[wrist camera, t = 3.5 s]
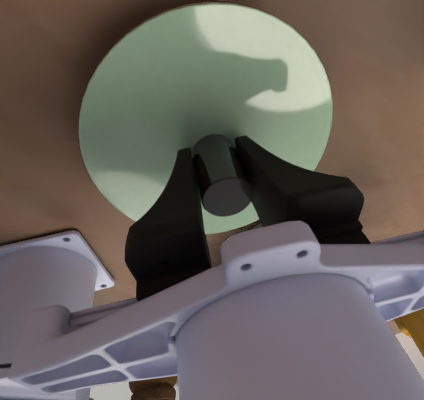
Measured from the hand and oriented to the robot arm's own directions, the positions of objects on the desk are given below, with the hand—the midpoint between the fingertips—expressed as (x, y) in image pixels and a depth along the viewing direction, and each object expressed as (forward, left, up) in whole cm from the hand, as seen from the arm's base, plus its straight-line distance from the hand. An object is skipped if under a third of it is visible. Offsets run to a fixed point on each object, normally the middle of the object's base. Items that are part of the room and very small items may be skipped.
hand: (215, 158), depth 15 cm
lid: (0, 0, -1) cm, 1 cm away
